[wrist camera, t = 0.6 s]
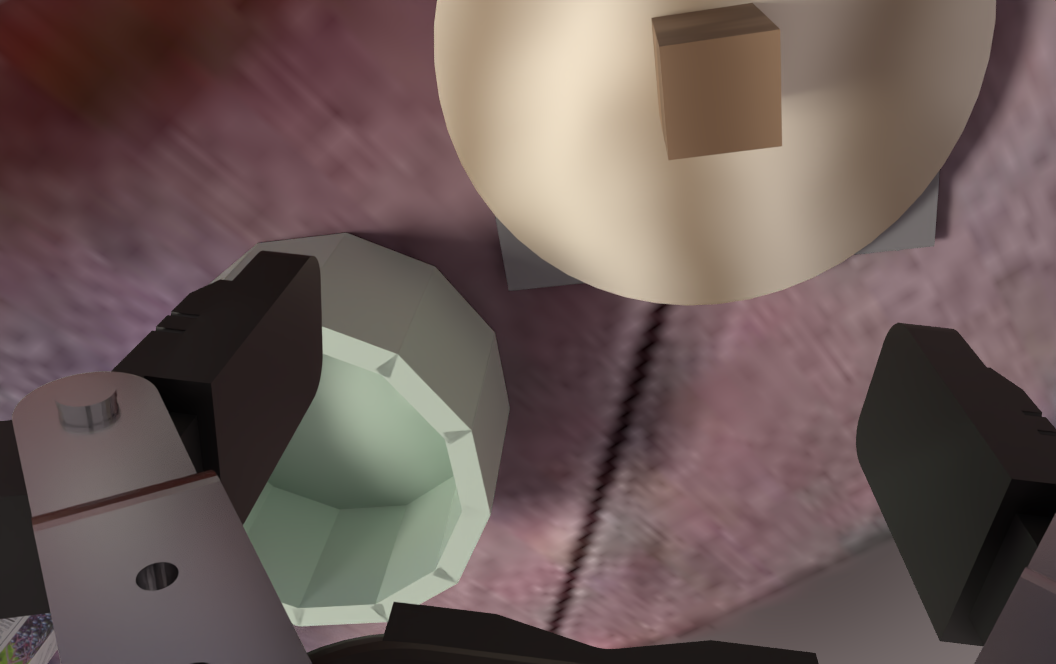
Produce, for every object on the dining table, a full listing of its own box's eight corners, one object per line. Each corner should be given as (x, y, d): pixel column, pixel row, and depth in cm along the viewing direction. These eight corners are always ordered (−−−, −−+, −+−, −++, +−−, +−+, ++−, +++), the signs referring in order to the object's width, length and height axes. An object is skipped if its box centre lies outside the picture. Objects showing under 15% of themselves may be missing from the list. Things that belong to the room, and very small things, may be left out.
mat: (964, -273, 25) (972, -276, 24) (928, 239, 32) (934, 246, 31) (427, -172, 27) (423, -172, 26) (510, 284, 34) (508, 291, 34)
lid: (1014, -327, 23) (1131, -382, 18) (960, 267, 32) (1029, 347, 27) (385, -204, 26) (329, -221, 21) (488, 315, 34) (466, 396, 29)
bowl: (472, 217, 33) (441, 297, 27) (528, 499, 40) (513, 616, 33) (140, 256, 35) (41, 339, 29) (245, 519, 42) (182, 632, 35)
